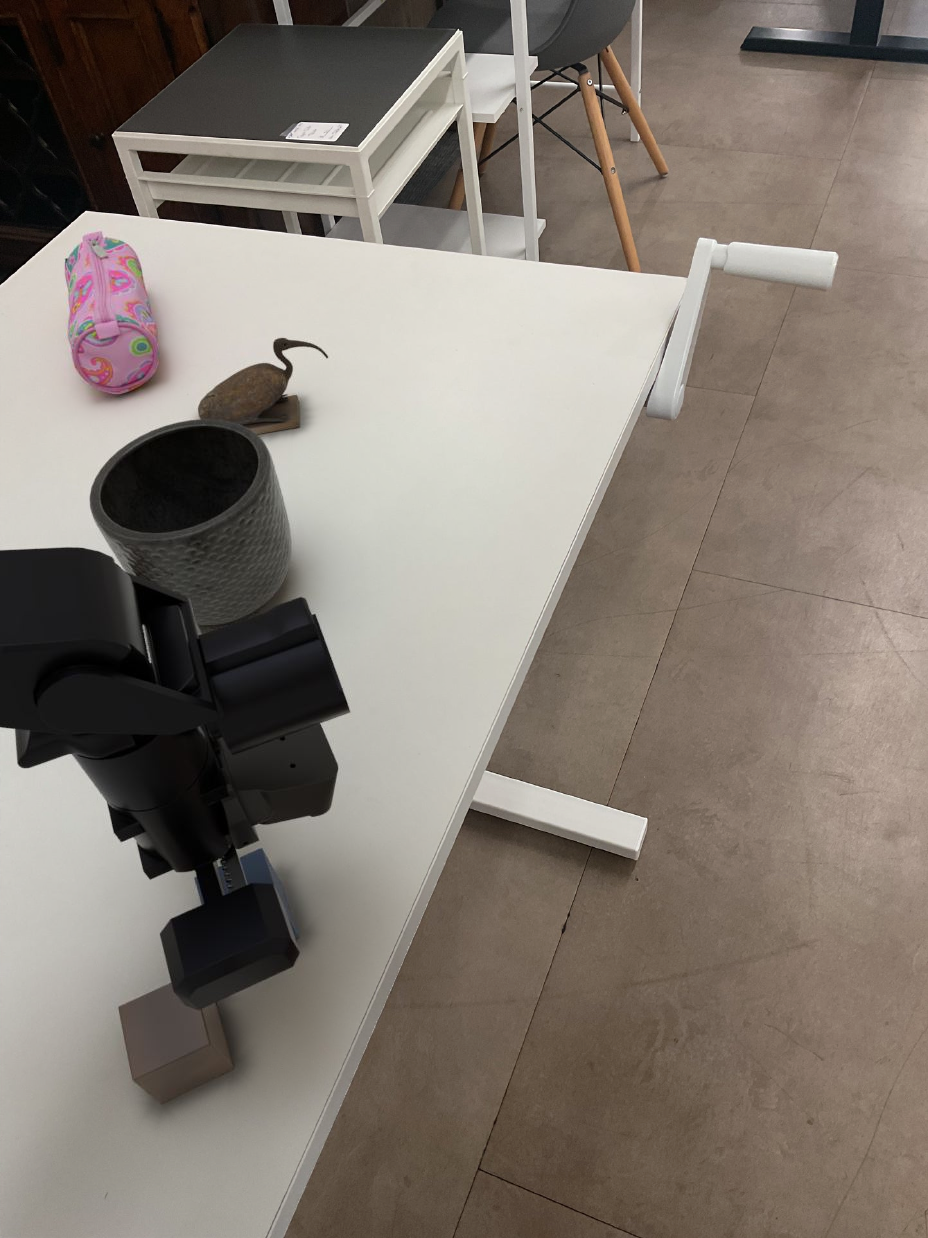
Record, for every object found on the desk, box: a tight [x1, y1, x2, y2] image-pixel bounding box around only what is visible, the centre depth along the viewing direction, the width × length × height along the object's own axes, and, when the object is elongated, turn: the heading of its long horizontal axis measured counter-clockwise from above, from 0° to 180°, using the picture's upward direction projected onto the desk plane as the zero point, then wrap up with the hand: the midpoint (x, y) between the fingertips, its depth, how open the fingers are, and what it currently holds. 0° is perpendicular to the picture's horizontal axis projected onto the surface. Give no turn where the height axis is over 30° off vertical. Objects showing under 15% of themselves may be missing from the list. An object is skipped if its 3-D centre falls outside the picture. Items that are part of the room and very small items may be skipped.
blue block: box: [193, 847, 300, 940], centre depth 64 cm, size 4×4×4 cm
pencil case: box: [64, 231, 161, 395], centre depth 110 cm, size 21×9×9 cm, turn 17°
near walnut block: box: [117, 982, 234, 1105], centre depth 59 cm, size 4×4×4 cm
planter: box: [89, 418, 293, 626], centre depth 81 cm, size 14×14×13 cm
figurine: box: [197, 337, 329, 435], centre depth 97 cm, size 14×4×9 cm, turn 97°
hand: (240, 898), depth 63 cm, fingers open, 9 cm apart
